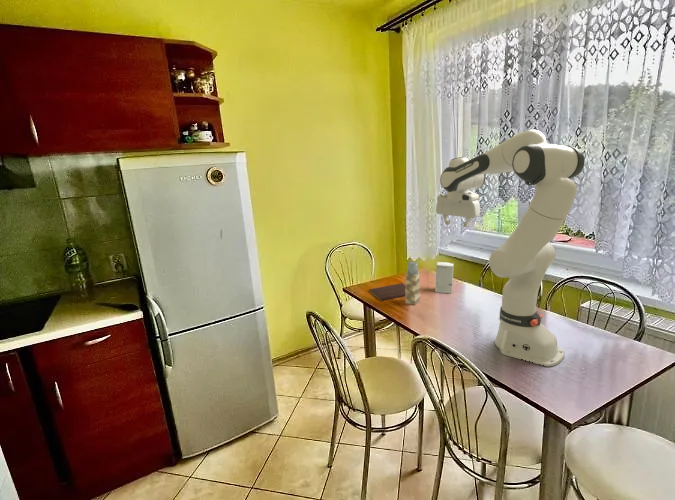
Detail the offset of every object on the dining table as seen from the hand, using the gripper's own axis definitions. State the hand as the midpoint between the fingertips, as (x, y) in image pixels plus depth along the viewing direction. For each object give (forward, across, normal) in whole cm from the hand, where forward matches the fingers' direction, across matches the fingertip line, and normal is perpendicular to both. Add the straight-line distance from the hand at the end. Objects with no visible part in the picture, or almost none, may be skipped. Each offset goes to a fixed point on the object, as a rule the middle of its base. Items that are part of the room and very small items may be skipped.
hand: (456, 225), depth 167 cm
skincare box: (+37, -11, +8) cm, 40 cm away
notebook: (+38, -30, -11) cm, 49 cm away
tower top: (+27, -14, -14) cm, 34 cm away
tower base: (+37, -14, -14) cm, 42 cm away
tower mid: (+32, -14, -14) cm, 38 cm away
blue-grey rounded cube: (+22, -14, -14) cm, 30 cm away
